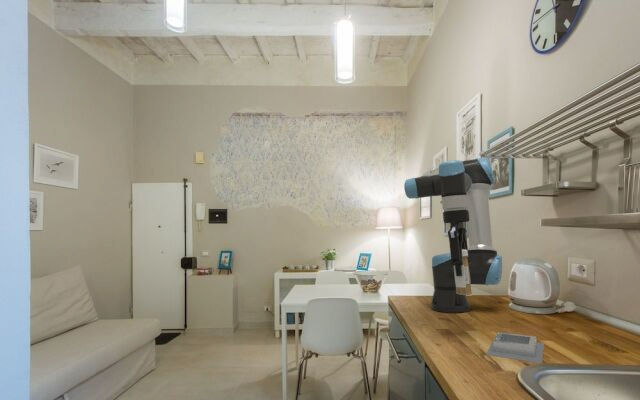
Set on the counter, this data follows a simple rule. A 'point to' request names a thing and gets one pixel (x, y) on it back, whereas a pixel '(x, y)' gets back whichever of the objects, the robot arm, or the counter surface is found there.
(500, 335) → the metal collar
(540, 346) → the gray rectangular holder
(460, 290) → the sprinkles bottle
